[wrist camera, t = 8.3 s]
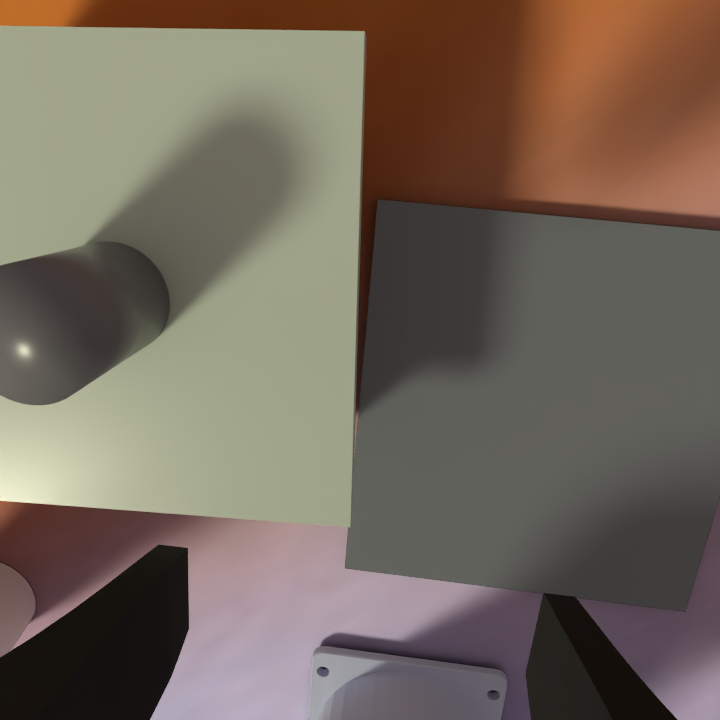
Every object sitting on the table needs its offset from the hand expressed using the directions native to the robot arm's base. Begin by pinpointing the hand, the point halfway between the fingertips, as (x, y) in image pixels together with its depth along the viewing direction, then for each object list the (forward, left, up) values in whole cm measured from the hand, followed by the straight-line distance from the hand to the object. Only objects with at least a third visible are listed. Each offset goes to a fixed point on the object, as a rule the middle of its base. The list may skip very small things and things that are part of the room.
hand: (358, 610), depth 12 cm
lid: (+5, +7, -6) cm, 10 cm away
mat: (0, -6, -10) cm, 12 cm away
